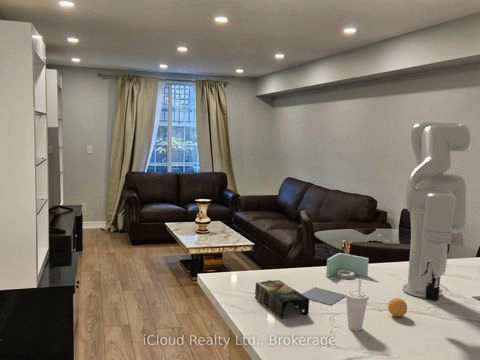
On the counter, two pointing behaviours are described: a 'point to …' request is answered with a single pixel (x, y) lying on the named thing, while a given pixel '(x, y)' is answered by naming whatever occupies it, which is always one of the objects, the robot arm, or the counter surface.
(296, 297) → the juice carton
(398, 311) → the ball
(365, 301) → the smoothie
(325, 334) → the counter surface
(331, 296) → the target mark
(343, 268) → the right angle wall
